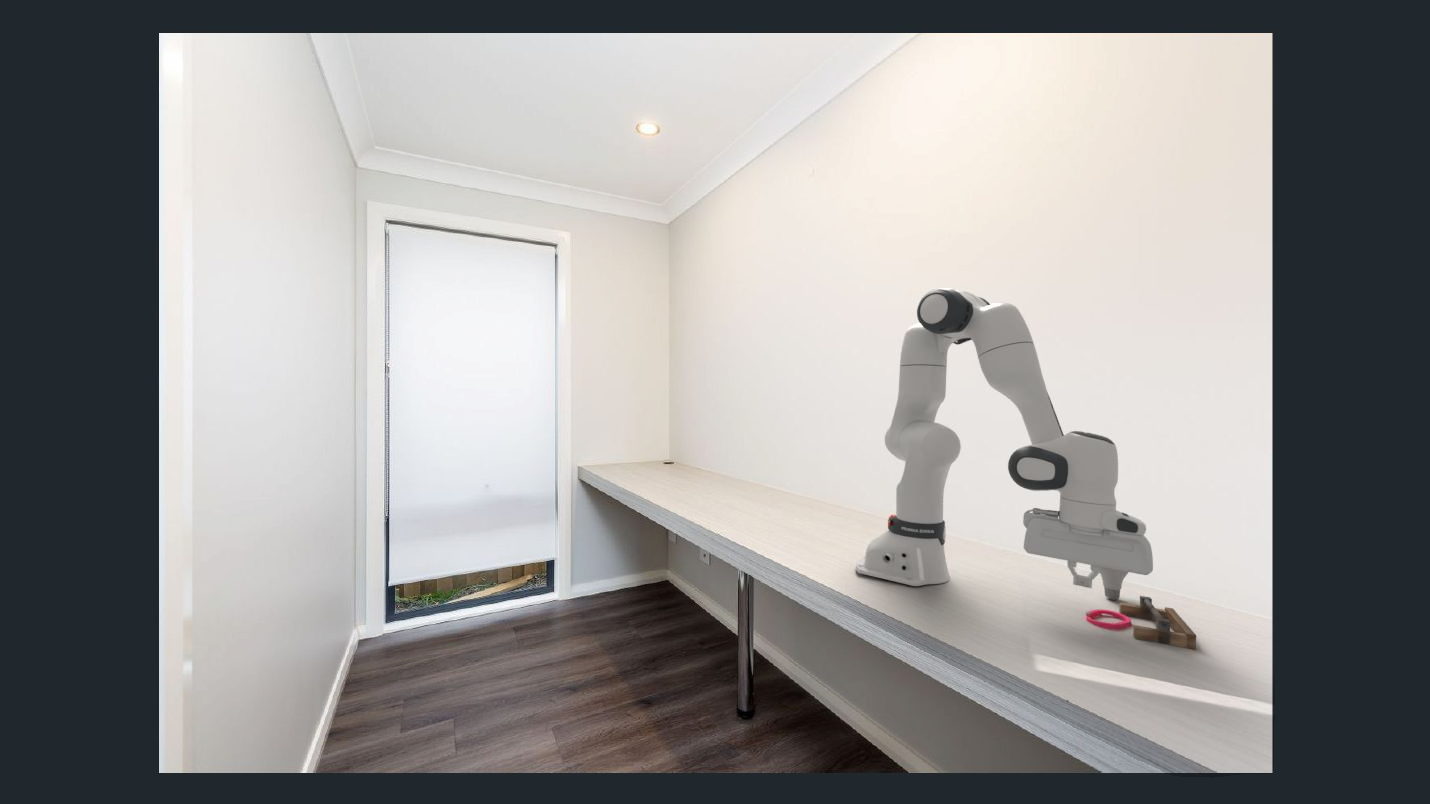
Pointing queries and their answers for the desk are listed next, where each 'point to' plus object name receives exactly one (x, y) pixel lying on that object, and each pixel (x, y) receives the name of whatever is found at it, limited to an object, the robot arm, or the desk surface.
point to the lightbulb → (1112, 582)
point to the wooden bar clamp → (1160, 624)
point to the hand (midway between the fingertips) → (1082, 585)
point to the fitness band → (1115, 626)
